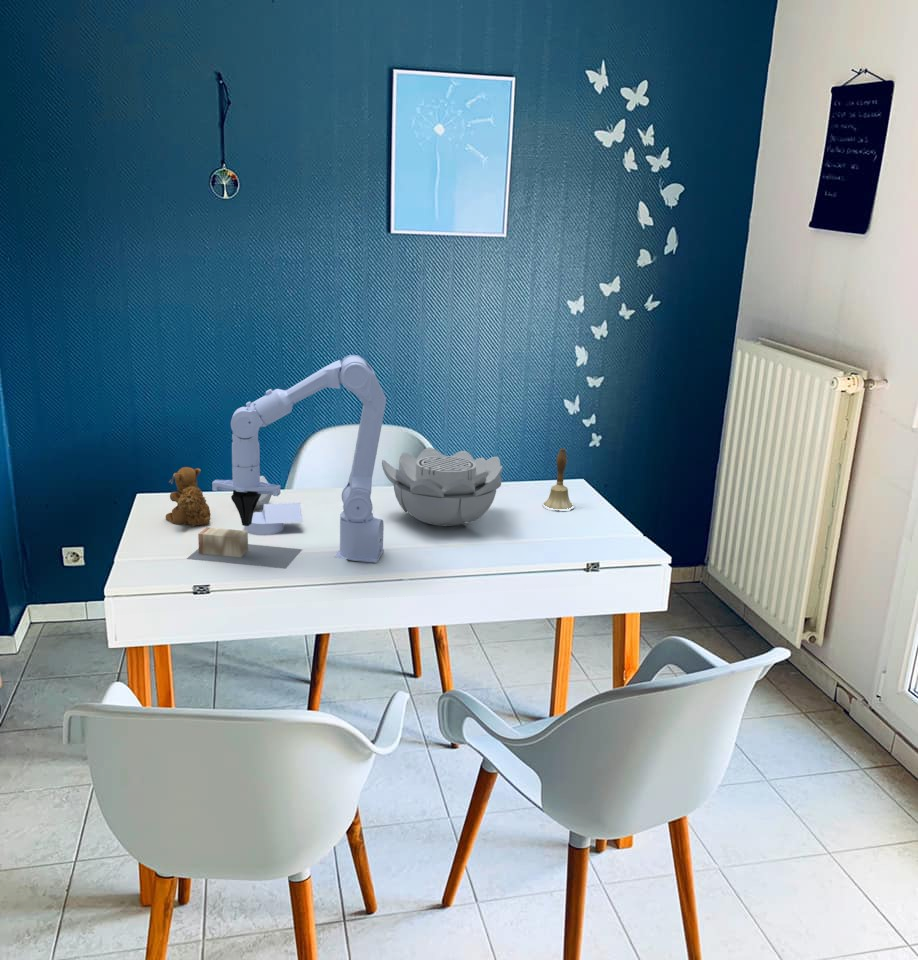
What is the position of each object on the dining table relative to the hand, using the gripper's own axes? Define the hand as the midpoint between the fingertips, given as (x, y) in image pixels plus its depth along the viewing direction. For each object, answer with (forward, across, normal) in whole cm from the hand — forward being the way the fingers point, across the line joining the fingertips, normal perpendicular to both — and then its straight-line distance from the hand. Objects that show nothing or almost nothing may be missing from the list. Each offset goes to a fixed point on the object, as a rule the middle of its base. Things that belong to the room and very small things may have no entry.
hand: (246, 524), depth 206 cm
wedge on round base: (+8, 0, +18) cm, 20 cm away
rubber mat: (+7, 0, 0) cm, 7 cm away
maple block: (+5, -1, 0) cm, 5 cm away
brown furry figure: (+8, -20, +18) cm, 29 cm away
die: (+8, -10, +34) cm, 36 cm away
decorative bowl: (+8, +39, +36) cm, 53 cm away
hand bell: (+8, +66, +56) cm, 87 cm away
